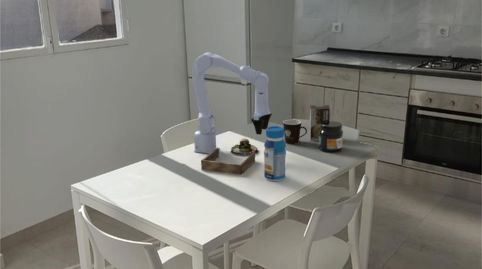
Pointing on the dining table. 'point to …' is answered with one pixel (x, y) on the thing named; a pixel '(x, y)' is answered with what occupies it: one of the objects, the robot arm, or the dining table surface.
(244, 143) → the burger
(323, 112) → the coffee box
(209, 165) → the box
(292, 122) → the coffee mug
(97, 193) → the dining table surface
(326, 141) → the supplement container
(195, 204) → the dining table surface
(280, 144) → the beverage bottle
